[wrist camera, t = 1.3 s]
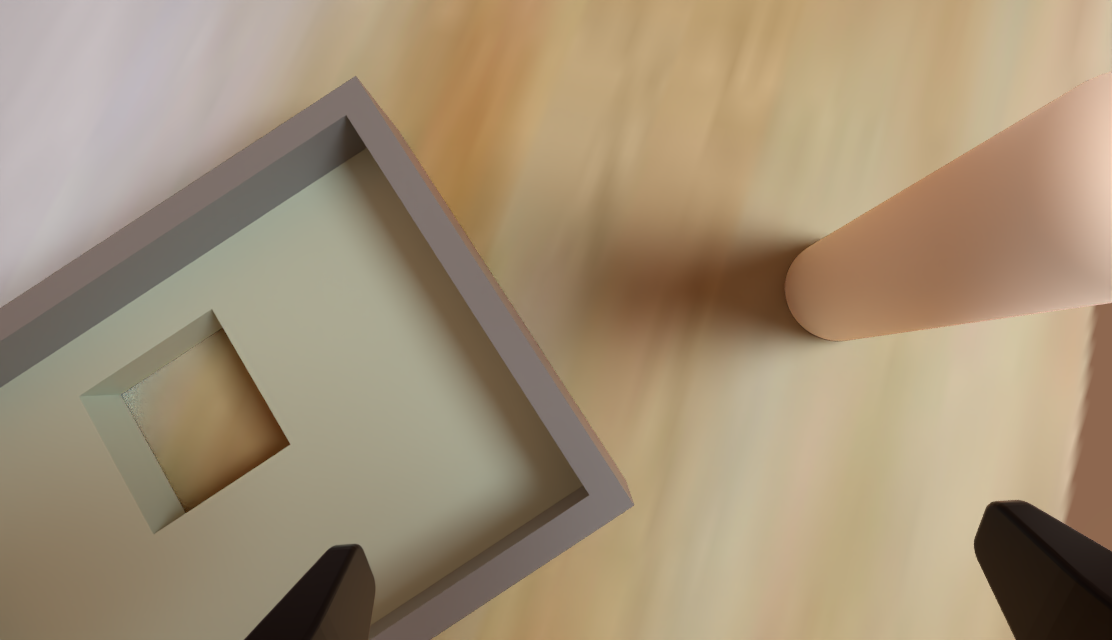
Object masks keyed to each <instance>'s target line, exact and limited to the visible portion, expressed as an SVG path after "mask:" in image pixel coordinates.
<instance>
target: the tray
mask: <svg viewBox="0 0 1112 640" xmlns="http://www.w3.org/2000/svg"><path fill="white" fill-rule="evenodd" d="M222 328H223V329H224V331H225V332H226V334H227V336H228V337H229V339H230V341H231V343H232V344H233V346H234V348H235V350H236V351H237V353H238V355H239V356H240V358H241V360H242V362H243V363H244V365H245V367H246V368H247V370H248V372H249V374H250V375H251V377H252V379H253V381H254V382H255V384H256V386H257V387H258V389H259V391H260V393H261V394H262V396H263V398H264V399H265V401H266V403H267V405H268V406H269V408H270V410H271V412H272V413H273V415H274V417H275V418H276V420H277V422H278V424H279V425H280V427H281V429H282V430H283V432H284V434H285V436H286V437H287V439H288V441H289V443H290V444H291V445H289V446H287V447H286V448H284V449H283V450H281V451H280V452H278V453H277V454H275V455H274V456H272V457H271V458H269V459H268V460H266V461H265V462H263V463H262V464H260V465H259V466H257V467H256V468H254V469H252V470H251V471H249V472H248V473H246V474H245V475H243V476H242V477H240V478H239V479H237V480H236V481H234V482H233V483H231V484H230V485H228V486H227V487H225V488H224V489H222V490H221V491H219V492H217V493H216V494H214V495H213V496H211V497H210V498H208V499H207V500H205V501H204V502H202V503H201V504H199V505H198V506H196V507H195V508H193V509H192V510H190V511H189V512H187V513H185V511H184V509H183V507H182V505H181V504H180V502H179V500H178V498H177V496H176V495H175V493H174V491H173V489H172V487H171V485H170V484H169V482H168V480H167V478H166V476H165V474H164V473H163V471H162V469H161V467H160V465H159V464H158V462H157V460H156V458H155V456H154V454H153V453H152V451H151V449H150V447H149V445H148V444H147V442H146V440H145V438H144V436H143V434H142V433H141V431H140V429H139V427H138V425H137V424H136V422H135V420H134V418H133V416H132V414H131V413H130V411H129V409H128V407H127V405H126V403H125V402H124V400H123V398H122V396H121V394H122V393H124V392H125V391H127V390H128V389H130V388H132V387H133V386H135V385H136V384H138V383H139V382H141V381H142V380H144V379H145V378H147V377H148V376H150V375H151V374H153V373H154V372H156V371H157V370H159V369H161V368H162V367H164V366H165V365H167V364H168V363H170V362H171V361H173V360H174V359H176V358H177V357H179V356H180V355H182V354H183V353H185V352H186V351H188V350H189V349H191V348H193V347H194V346H196V345H197V344H199V343H200V342H202V341H203V340H205V339H206V338H208V337H209V336H211V335H212V334H214V333H215V332H217V331H218V330H220V329H222ZM632 506H634V503H633V500H632V497H631V494H630V491H629V488H628V485H627V482H626V480H625V478H624V477H623V475H622V474H621V472H620V471H619V469H618V468H617V466H616V464H615V463H614V461H613V460H612V458H611V457H610V455H609V454H608V452H607V451H606V449H605V448H604V446H603V444H602V443H601V441H600V440H599V438H598V437H597V435H596V434H595V432H594V431H593V429H592V427H591V426H590V424H589V423H588V421H587V420H586V418H585V417H584V415H583V414H582V412H581V411H580V409H579V407H578V406H577V404H576V403H575V401H574V400H573V398H572V397H571V395H570V394H569V392H568V391H567V389H566V387H565V386H564V384H563V383H562V381H561V380H560V378H559V377H558V375H557V374H556V372H555V371H554V369H553V367H552V366H551V364H550V363H549V361H548V360H547V358H546V357H545V355H544V354H543V352H542V351H541V349H540V347H539V346H538V344H537V343H536V341H535V340H534V338H533V337H532V335H531V334H530V332H529V331H528V329H527V327H526V326H525V324H524V323H523V321H522V320H521V318H520V317H519V315H518V314H517V312H516V311H515V309H514V307H513V306H512V304H511V303H510V301H509V300H508V298H507V297H506V295H505V294H504V292H503V291H502V289H501V287H500V286H499V284H498V283H497V281H496V280H495V278H494V277H493V275H492V274H491V272H490V271H489V269H488V267H487V266H486V264H485V263H484V261H483V260H482V258H481V257H480V255H479V254H478V252H477V251H476V249H475V247H474V246H473V244H472V243H471V241H470V240H469V238H468V237H467V235H466V234H465V232H464V231H463V229H462V227H461V226H460V224H459V223H458V221H457V220H456V218H455V217H454V215H453V214H452V212H451V211H450V209H449V207H448V206H447V204H446V203H445V201H444V200H443V198H442V197H441V195H440V194H439V192H438V191H437V189H436V187H435V186H434V184H433V183H432V181H431V180H430V178H429V177H428V175H427V174H426V172H425V171H424V169H423V167H422V166H421V164H420V163H419V161H418V160H417V158H416V157H415V155H414V154H413V152H412V151H411V149H410V147H409V146H408V144H407V143H406V141H405V140H404V138H403V137H402V135H401V134H400V132H399V131H398V129H397V128H396V127H395V125H394V124H393V123H392V122H391V120H390V119H389V118H388V116H387V115H386V114H385V113H384V111H383V110H382V109H381V107H380V106H379V105H378V104H377V102H376V101H375V100H374V98H373V97H372V96H371V95H370V93H369V92H368V91H367V89H366V88H365V87H364V86H363V84H362V83H361V82H360V81H359V79H358V78H357V77H356V76H355V77H353V78H352V79H350V80H349V81H347V82H346V83H344V84H343V85H341V86H339V87H338V88H336V89H335V90H333V91H332V92H330V93H329V94H327V95H326V96H324V97H323V98H321V99H320V100H318V101H317V102H315V103H313V104H312V105H310V106H309V107H307V108H306V109H304V110H303V111H301V112H300V113H298V114H297V115H295V116H294V117H292V118H291V119H289V120H287V121H286V122H284V123H283V124H281V125H280V126H278V127H277V128H275V129H274V130H272V131H271V132H269V133H268V134H266V135H265V136H263V137H262V138H260V139H258V140H257V141H255V142H254V143H252V144H251V145H249V146H248V147H246V148H245V149H243V150H242V151H240V152H239V153H237V154H236V155H234V156H232V157H231V158H229V159H228V160H226V161H225V162H223V163H222V164H220V165H219V166H217V167H216V168H214V169H213V170H211V171H210V172H208V173H207V174H205V175H203V176H202V177H200V178H199V179H197V180H196V181H194V182H193V183H191V184H190V185H188V186H187V187H185V188H184V189H182V190H181V191H179V192H177V193H176V194H174V195H173V196H171V197H170V198H168V199H167V200H165V201H164V202H162V203H161V204H159V205H158V206H156V207H155V208H153V209H151V210H150V211H148V212H147V213H145V214H144V215H142V216H141V217H139V218H138V219H136V220H135V221H133V222H132V223H130V224H129V225H127V226H126V227H124V228H122V229H121V230H119V231H118V232H116V233H115V234H113V235H112V236H110V237H109V238H107V239H106V240H104V241H103V242H101V243H100V244H98V245H96V246H95V247H93V248H92V249H90V250H89V251H87V252H86V253H84V254H83V255H81V256H80V257H78V258H77V259H75V260H74V261H72V262H71V263H69V264H67V265H66V266H64V267H63V268H61V269H60V270H58V271H57V272H55V273H54V274H52V275H51V276H49V277H48V278H46V279H45V280H43V281H41V282H40V283H38V284H37V285H35V286H34V287H32V288H31V289H29V290H28V291H26V292H25V293H23V294H22V295H20V296H19V297H17V298H15V299H14V300H12V301H11V302H9V303H8V304H6V305H5V306H3V307H2V308H0V640H244V639H245V638H246V637H247V636H248V634H249V633H250V632H251V631H252V630H253V629H254V628H255V627H256V626H257V625H258V624H259V623H260V622H261V620H262V619H263V618H264V617H265V616H266V615H267V614H268V613H269V612H270V611H271V610H272V609H273V608H274V607H275V605H276V604H277V603H278V602H279V601H280V600H281V599H282V598H283V597H284V596H285V595H286V594H287V593H288V592H289V590H290V589H291V588H292V587H293V586H294V585H295V584H296V583H297V582H298V581H299V580H300V579H301V578H302V576H303V575H304V574H305V573H306V572H307V571H308V570H309V569H310V568H311V567H312V566H313V565H314V564H315V563H316V561H317V560H318V559H319V558H320V557H321V556H322V555H323V554H324V553H325V552H326V551H327V550H328V549H329V548H331V547H332V546H334V545H342V544H359V545H360V546H361V547H362V548H363V550H364V552H365V555H366V558H367V560H368V563H369V565H370V568H371V570H372V573H373V576H374V579H375V586H376V591H375V600H374V606H373V612H372V619H371V625H370V631H369V638H368V640H431V639H432V638H434V637H435V636H437V635H438V634H440V633H441V632H443V631H444V630H446V629H447V628H449V627H450V626H452V625H453V624H455V623H456V622H458V621H459V620H461V619H462V618H464V617H465V616H467V615H468V614H470V613H472V612H473V611H475V610H476V609H478V608H479V607H481V606H482V605H484V604H485V603H487V602H488V601H490V600H491V599H493V598H494V597H496V596H497V595H499V594H500V593H502V592H503V591H505V590H506V589H508V588H509V587H511V586H512V585H514V584H516V583H517V582H519V581H520V580H522V579H523V578H525V577H526V576H528V575H529V574H531V573H532V572H534V571H535V570H537V569H538V568H540V567H541V566H543V565H544V564H546V563H547V562H549V561H550V560H552V559H553V558H555V557H557V556H558V555H560V554H561V553H563V552H564V551H566V550H567V549H569V548H570V547H572V546H573V545H575V544H576V543H578V542H579V541H581V540H582V539H584V538H585V537H587V536H588V535H590V534H591V533H593V532H594V531H596V530H597V529H599V528H601V527H602V526H604V525H605V524H607V523H608V522H610V521H611V520H613V519H614V518H616V517H617V516H619V515H620V514H622V513H623V512H625V511H626V510H628V509H629V508H631V507H632Z"/></svg>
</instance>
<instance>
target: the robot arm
mask: <svg viewBox="0 0 1112 640" xmlns="http://www.w3.org/2000/svg"><path fill="white" fill-rule="evenodd" d="M974 550H975V554H976V557H977V560H978V562H979V564H980V566H981V568H982V570H983V572H984V574H985V576H986V579H987V581H988V583H989V585H990V587H991V589H992V591H993V593H994V595H995V597H996V599H997V602H998V604H999V606H1000V608H1001V610H1002V612H1003V614H1004V616H1005V618H1006V620H1007V623H1008V625H1009V627H1010V629H1011V631H1012V633H1013V635H1014V637H1015V639H1016V640H1112V552H1111V551H1110V550H1108V549H1107V548H1105V547H1103V546H1101V545H1100V544H1098V543H1096V542H1095V541H1093V540H1091V539H1089V538H1088V537H1086V536H1084V535H1083V534H1081V533H1079V532H1077V531H1076V530H1074V529H1072V528H1071V527H1069V526H1067V525H1066V524H1064V523H1062V522H1060V521H1059V520H1057V519H1055V518H1054V517H1052V516H1050V515H1049V514H1047V513H1045V512H1043V511H1042V510H1040V509H1038V508H1037V507H1035V506H1033V505H1031V504H1029V503H1027V502H1025V501H1021V500H1008V501H995V502H991V503H990V504H989V505H988V506H987V507H986V509H985V512H984V514H983V517H982V520H981V523H980V525H979V528H978V531H977V533H976V536H975V539H974ZM375 591H376V586H375V579H374V576H373V573H372V570H371V568H370V565H369V563H368V560H367V558H366V555H365V552H364V550H363V548H362V547H361V546H360V545H359V544H342V545H334V546H332V547H331V548H329V549H328V550H327V551H326V552H325V553H324V554H323V555H322V556H321V557H320V558H319V559H318V560H317V561H316V563H315V564H314V565H313V566H312V567H311V568H310V569H309V570H308V571H307V572H306V573H305V574H304V575H303V576H302V578H301V579H300V580H299V581H298V582H297V583H296V584H295V585H294V586H293V587H292V588H291V589H290V590H289V592H288V593H287V594H286V595H285V596H284V597H283V598H282V599H281V600H280V601H279V602H278V603H277V604H276V605H275V607H274V608H273V609H272V610H271V611H270V612H269V613H268V614H267V615H266V616H265V617H264V618H263V619H262V620H261V622H260V623H259V624H258V625H257V626H256V627H255V628H254V629H253V630H252V631H251V632H250V633H249V634H248V636H247V637H246V638H245V639H244V640H368V638H369V631H370V625H371V619H372V612H373V606H374V600H375Z"/></svg>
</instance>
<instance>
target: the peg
mask: <svg viewBox="0 0 1112 640" xmlns="http://www.w3.org/2000/svg"><path fill="white" fill-rule="evenodd" d="M785 296H786V301H787V304H788V307H789V309H790V312H791V313H792V315H793V317H794V318H795V319H796V321H797V322H798V323H799V324H800V325H801V326H802V327H803V328H804V329H806V330H807V331H808V332H810V333H812V334H813V335H815V336H818V337H820V338H823V339H827V340H832V341H847V340H854V339H861V338H868V337H875V336H882V335H889V334H896V333H903V332H910V331H917V330H924V329H931V328H938V327H945V326H952V325H959V324H966V323H973V322H980V321H987V320H994V319H1001V318H1008V317H1015V316H1022V315H1029V314H1036V313H1043V312H1050V311H1057V310H1064V309H1071V308H1078V307H1085V306H1092V305H1099V304H1106V303H1112V72H1109V73H1106V74H1102V75H1099V76H1097V77H1095V78H1092V79H1090V80H1087V81H1086V82H1084V83H1082V84H1080V85H1079V86H1077V87H1075V88H1073V89H1072V90H1070V91H1068V92H1067V93H1065V94H1063V95H1062V96H1060V97H1058V98H1057V99H1055V100H1053V101H1052V102H1050V103H1048V104H1047V105H1045V106H1043V107H1042V108H1040V109H1038V110H1037V111H1035V112H1033V113H1032V114H1030V115H1028V116H1027V117H1025V118H1023V119H1022V120H1020V121H1018V122H1017V123H1015V124H1013V125H1012V126H1010V127H1008V128H1007V129H1005V130H1003V131H1002V132H1000V133H998V134H996V135H995V136H993V137H991V138H990V139H988V140H986V141H985V142H983V143H981V144H980V145H978V146H976V147H975V148H973V149H971V150H970V151H968V152H966V153H965V154H963V155H961V156H960V157H958V158H956V159H955V160H953V161H951V162H950V163H948V164H946V165H945V166H943V167H941V168H940V169H938V170H936V171H935V172H933V173H931V174H930V175H928V176H926V177H925V178H923V179H921V180H920V181H918V182H916V183H915V184H913V185H911V186H910V187H908V188H906V189H904V190H903V191H901V192H899V193H898V194H896V195H894V196H893V197H891V198H889V199H888V200H886V201H884V202H883V203H881V204H879V205H878V206H876V207H874V208H873V209H871V210H869V211H868V212H866V213H864V214H863V215H861V216H859V217H858V218H856V219H854V220H853V221H851V222H849V223H848V224H846V225H844V226H843V227H841V228H839V229H838V230H836V231H834V232H833V233H831V234H829V235H828V236H826V237H824V238H823V239H821V240H819V241H818V242H816V243H814V244H813V245H811V246H809V247H807V248H806V249H805V250H803V251H802V252H801V253H800V254H799V255H798V256H797V257H796V258H795V260H794V261H793V262H792V264H791V266H790V268H789V270H788V273H787V276H786V280H785Z"/></svg>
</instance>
